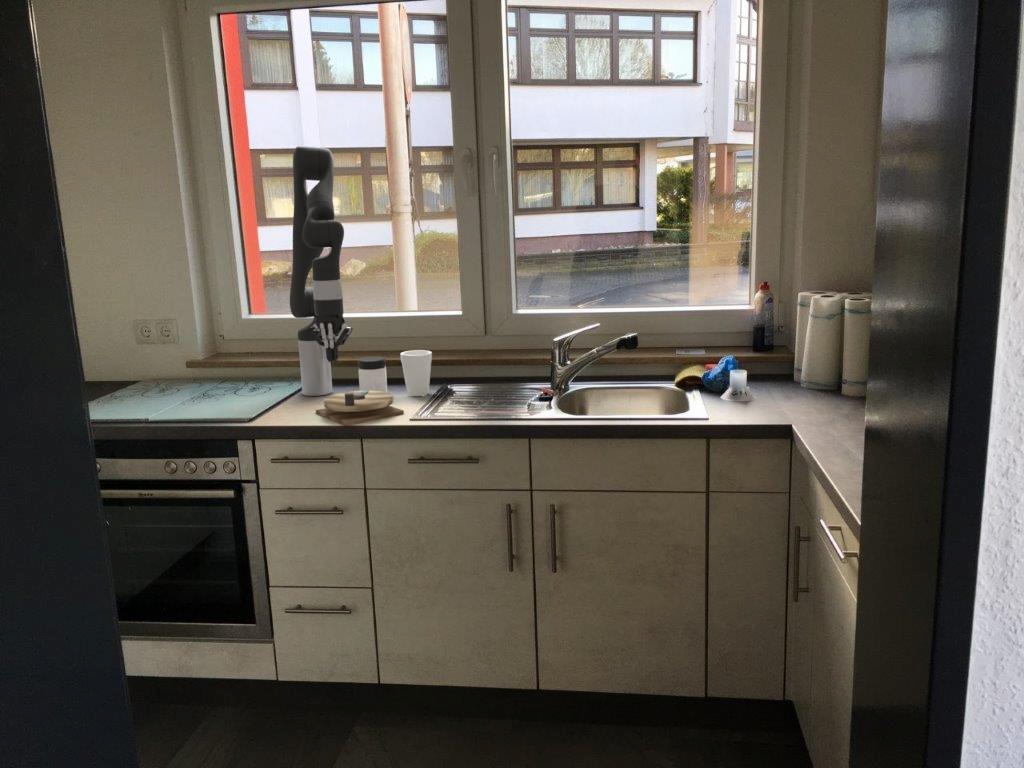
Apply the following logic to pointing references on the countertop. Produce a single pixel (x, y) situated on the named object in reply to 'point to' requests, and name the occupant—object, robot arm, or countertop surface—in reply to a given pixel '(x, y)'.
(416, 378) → the foam cup
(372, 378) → the jar
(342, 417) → the mount
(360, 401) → the handwheel
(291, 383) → the countertop surface
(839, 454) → the countertop surface
